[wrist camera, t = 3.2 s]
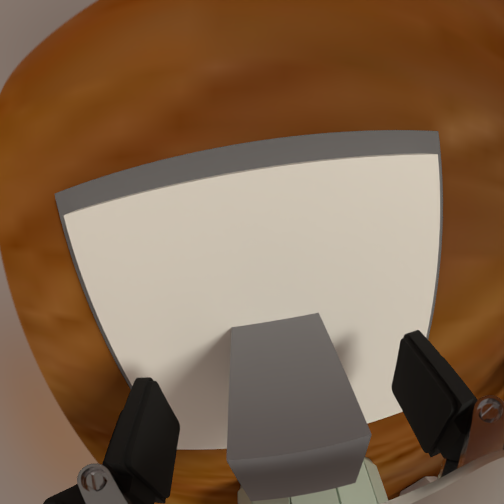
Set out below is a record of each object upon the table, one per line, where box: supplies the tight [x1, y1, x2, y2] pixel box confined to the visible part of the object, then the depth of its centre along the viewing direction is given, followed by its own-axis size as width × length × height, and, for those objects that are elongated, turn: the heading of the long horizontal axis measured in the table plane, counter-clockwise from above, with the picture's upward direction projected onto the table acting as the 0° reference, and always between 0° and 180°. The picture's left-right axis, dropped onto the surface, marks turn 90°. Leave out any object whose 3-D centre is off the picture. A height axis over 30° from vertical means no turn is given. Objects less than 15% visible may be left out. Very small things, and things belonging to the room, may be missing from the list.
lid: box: [64, 153, 440, 501], centre depth 9 cm, size 15×15×7 cm
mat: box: [55, 130, 443, 389], centre depth 13 cm, size 17×17×1 cm
